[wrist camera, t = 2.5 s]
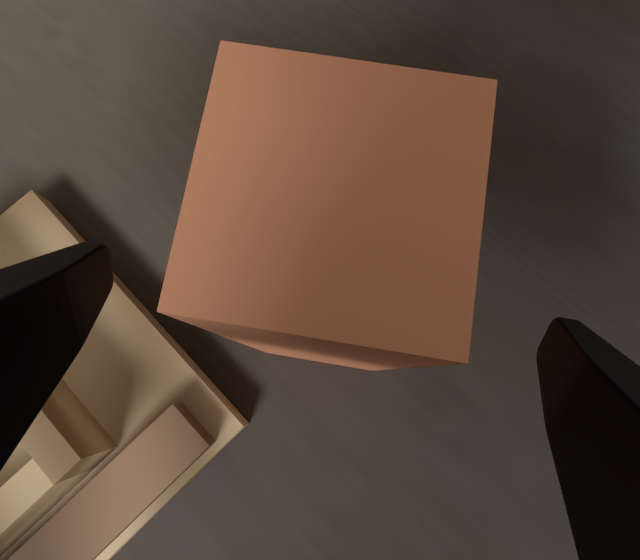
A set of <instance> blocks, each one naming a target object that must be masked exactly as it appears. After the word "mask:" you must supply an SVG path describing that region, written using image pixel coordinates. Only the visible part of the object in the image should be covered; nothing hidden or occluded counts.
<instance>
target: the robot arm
mask: <svg viewBox="0 0 640 560" xmlns="http://www.w3.org/2000/svg"><path fill="white" fill-rule="evenodd" d="M113 281H114V278H113V271H112V266H111V260H110V254H109V250H108V248H107V246H106V245H104V244H100V243H94V242H88V241H85V242H81V243H78V244H75V245H72V246H69V247H66V248H63V249H60V250H57V251H54V252H51V253H47V254H44V255H41V256H38V257H35V258H32V259H29V260H26V261H23V262H20V263H17V264H14V265H11V266H8V267H5V268H2V269H0V471H1V470H2V468H3V467H4V465H5V464H6V462H7V461H8V459H9V458H10V456H11V455H12V453H13V452H14V450H15V449H16V447H17V446H18V444H19V442H20V441H21V439H22V438H23V436H24V435H25V433H26V432H27V430H28V429H29V427H30V426H31V424H32V423H33V421H34V420H35V418H36V417H37V415H38V414H39V412H40V411H41V409H42V408H43V406H44V405H45V403H46V402H47V400H48V399H49V397H50V396H51V394H52V393H53V391H54V390H55V388H56V387H57V385H58V384H59V382H60V381H61V379H62V378H63V376H64V375H65V373H66V371H67V370H68V368H69V367H70V365H71V364H72V362H73V361H74V359H75V358H76V356H77V355H78V353H79V352H80V350H81V348H82V347H83V345H84V343H85V341H86V339H87V337H88V335H89V333H90V331H91V329H92V327H93V325H94V324H95V322H96V320H97V318H98V316H99V314H100V312H101V310H102V308H103V306H104V304H105V302H106V300H107V298H108V296H109V294H110V292H111V290H112V287H113ZM537 367H538V375H539V383H540V390H541V398H542V406H543V414H544V420H545V426H546V431H547V435H548V440H549V443H550V447H551V451H552V455H553V459H554V463H555V467H556V471H557V475H558V479H559V483H560V487H561V490H562V494H563V498H564V502H565V506H566V510H567V514H568V518H569V522H570V526H571V530H572V534H573V537H574V541H575V545H576V549H577V553H578V557H579V560H640V366H638V365H637V364H636V363H634V362H633V361H632V360H630V359H629V358H628V357H626V356H625V355H624V354H622V353H621V352H620V351H618V350H617V349H616V348H614V347H613V346H612V345H610V344H609V343H608V342H606V341H605V340H604V339H602V338H601V337H600V336H598V335H597V334H596V333H594V332H593V331H592V330H590V329H589V328H588V327H586V326H585V325H584V324H582V323H581V322H580V321H578V320H574V319H568V318H561V317H557V318H555V319H553V320H552V322H551V323H550V325H549V327H548V329H547V331H546V333H545V335H544V337H543V339H542V341H541V343H540V345H539V347H538V350H537Z"/></svg>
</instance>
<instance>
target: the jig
mask: <svg viewBox="0 0 640 560" xmlns="http://www.w3.org/2000/svg"><path fill="white" fill-rule="evenodd" d="M81 242H85V240H84V239H83V238H82V237H81V236H80V234H79V233H78V232H77V231H76V230H75V229H74V228H73V227H72V226H71V224H70V223H69V222H68V221H67V220H66V219H65V218H64V217H63V216H62V214H61V213H60V212H59V211H58V210H57V209H56V208H55V207H54V206H53V204H52V203H51V202H50V201H49V200H47V199H45V198H44V197H42V196H41V195H39V194H37V193H36V192H34V191H33V190H30V191H29V192H28V193H27V194H26V195H24V196H23V197H22V198H21V199H19V200H18V201H17V202H16V203H15V204H13V205H12V206H11V207H10V208H9V209H7V210H6V211H5V212H4V213H2V214H1V215H0V269H2V268H5V267H8V266H11V265H14V264H17V263H20V262H23V261H26V260H29V259H32V258H35V257H38V256H41V255H44V254H47V253H51V252H54V251H57V250H60V249H63V248H66V247H69V246H72V245H75V244H78V243H81ZM113 278H114V281H113V287H112V290H111V292H110V294H109V296H108V298H107V300H106V302H105V304H104V306H103V308H102V310H101V312H100V314H99V316H98V318H97V320H96V322H95V324H94V325H93V327H92V329H91V331H90V333H89V335H88V337H87V339H86V341H85V343H84V345H83V347H82V348H81V350H80V352H79V353H78V355H77V356H76V358H75V359H74V361H73V362H72V364H71V365H70V367H69V368H68V370H67V371H66V373H65V375H64V376H63V378H62V379H61V381H60V382H59V384H58V385H57V387H56V388H55V390H54V391H53V393H52V394H51V396H50V397H49V399H48V400H47V402H46V403H45V405H44V406H43V408H42V409H41V411H40V412H39V414H38V415H37V417H36V418H35V420H34V421H33V423H32V424H31V426H30V427H29V429H28V430H27V432H26V433H25V435H24V436H23V438H22V439H21V441H20V442H19V444H18V446H17V447H16V449H15V450H14V452H13V453H12V455H11V456H10V458H9V459H8V461H7V462H6V464H5V465H4V467H3V468H2V470H1V471H0V560H110V559H111V558H112V557H113V556H114V555H115V554H116V553H117V552H118V551H119V550H120V549H121V548H122V547H123V546H124V545H125V544H126V543H127V542H128V541H129V540H130V539H131V538H132V537H133V536H134V535H135V534H136V533H137V532H139V531H140V530H141V529H142V528H143V527H144V526H145V525H146V524H147V523H148V522H149V521H150V520H151V519H152V518H153V517H154V516H155V515H156V514H157V513H158V512H159V511H160V510H161V509H162V508H163V507H164V506H165V505H166V504H167V503H168V502H169V501H170V500H171V499H172V498H173V497H174V496H175V495H176V494H177V493H178V492H179V491H180V490H181V489H182V488H183V487H185V486H186V485H187V484H188V483H189V482H190V481H191V480H192V479H193V478H194V477H195V476H196V475H197V474H198V473H199V472H200V471H201V470H202V469H203V468H204V467H205V466H206V465H207V464H208V463H209V462H210V461H211V460H212V459H213V458H214V457H215V456H216V455H217V454H218V453H219V452H220V451H221V450H222V449H223V448H224V447H225V446H226V445H227V444H228V443H229V442H231V441H232V440H233V439H234V438H235V437H236V436H237V435H238V434H239V433H240V432H241V431H242V430H243V429H244V428H245V427H246V426H247V425H248V424H249V422H248V421H247V420H246V419H245V418H244V417H243V416H242V415H241V413H240V412H239V411H238V410H237V409H236V408H235V407H234V406H233V405H232V403H231V402H230V401H229V400H228V399H227V398H226V397H225V396H224V395H223V393H222V392H221V391H220V390H219V389H218V388H217V387H216V386H215V385H214V383H213V382H212V381H211V380H210V379H209V378H208V377H207V376H206V375H205V373H204V372H203V371H202V370H201V369H200V368H199V367H198V366H197V365H196V363H195V362H194V361H193V360H192V359H191V358H190V357H189V356H188V355H187V353H186V352H185V351H184V350H183V349H182V348H181V347H180V346H179V345H178V343H177V342H176V341H175V340H174V339H173V338H172V337H171V336H170V335H169V333H168V332H167V331H166V330H165V329H164V328H163V327H162V326H161V325H160V323H159V322H158V321H157V320H156V319H155V318H154V317H153V316H152V315H151V313H150V312H149V311H148V310H147V309H146V308H145V307H144V306H143V305H142V303H141V302H140V301H139V300H138V299H137V298H136V297H135V296H134V295H133V293H132V292H131V291H130V290H129V289H128V288H127V287H126V286H125V285H124V283H123V282H122V281H121V280H120V279H119V278H118V277H117V276H116V275H115V273H114V272H113Z"/></svg>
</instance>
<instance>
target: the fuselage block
mask: <svg viewBox="0 0 640 560" xmlns="http://www.w3.org/2000/svg"><path fill="white" fill-rule="evenodd" d="M497 81H498V80H495V79H488V78H481V77H474V76H467V75H460V74H453V73H446V72H439V71H432V70H425V69H418V68H411V67H404V66H397V65H390V64H383V63H376V62H369V61H362V60H355V59H348V58H341V57H334V56H327V55H320V54H313V53H306V52H299V51H292V50H285V49H278V48H271V47H264V46H257V45H250V44H243V43H236V42H229V41H222V40H220V45H219V49H218V53H217V57H216V62H215V66H214V70H213V74H212V79H211V83H210V87H209V91H208V96H207V100H206V104H205V108H204V113H203V117H202V121H201V125H200V130H199V134H198V138H197V142H196V147H195V151H194V155H193V159H192V163H191V168H190V172H189V176H188V180H187V185H186V189H185V193H184V197H183V202H182V206H181V210H180V214H179V219H178V223H177V227H176V231H175V236H174V240H173V244H172V248H171V253H170V257H169V261H168V265H167V270H166V274H165V278H164V282H163V287H162V291H161V295H160V299H159V304H158V308H157V312H159V313H162V314H164V315H167V316H170V317H172V318H175V319H178V320H180V321H183V322H186V323H188V324H191V325H194V326H196V327H199V328H202V329H204V330H207V331H210V332H212V333H215V334H218V335H220V336H223V337H226V338H228V339H231V340H234V341H236V342H239V343H242V344H244V345H247V346H250V347H253V348H255V349H258V350H261V351H263V352H266V353H270V354H276V355H282V356H288V357H294V358H300V359H306V360H312V361H318V362H324V363H330V364H336V365H341V366H347V367H353V368H359V369H365V370H371V371H374V370H388V369H402V368H415V367H429V366H443V365H457V364H468V361H469V351H470V341H471V332H472V322H473V312H474V303H475V293H476V284H477V274H478V264H479V255H480V245H481V235H482V226H483V216H484V207H485V197H486V187H487V178H488V168H489V158H490V149H491V139H492V129H493V120H494V110H495V101H496V91H497Z"/></svg>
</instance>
